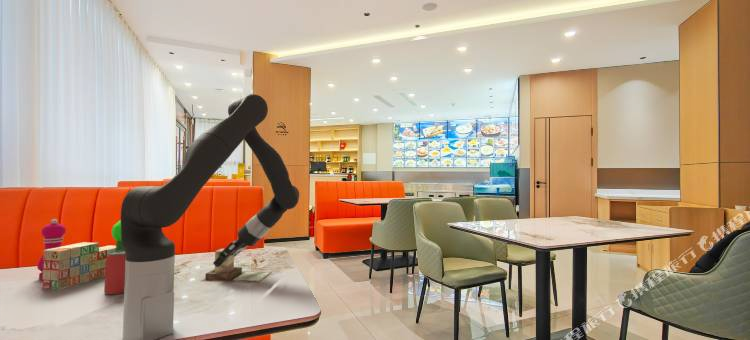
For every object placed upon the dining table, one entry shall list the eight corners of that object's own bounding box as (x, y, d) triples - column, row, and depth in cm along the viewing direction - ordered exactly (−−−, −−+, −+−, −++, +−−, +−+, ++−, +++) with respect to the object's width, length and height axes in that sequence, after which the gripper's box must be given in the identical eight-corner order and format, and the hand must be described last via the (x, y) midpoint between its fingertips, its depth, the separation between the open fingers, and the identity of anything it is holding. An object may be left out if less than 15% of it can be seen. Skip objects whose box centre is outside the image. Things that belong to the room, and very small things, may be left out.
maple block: (233, 274, 114) (234, 248, 114) (227, 278, 110) (228, 251, 110) (221, 273, 114) (221, 248, 115) (214, 277, 110) (215, 251, 110)
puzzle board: (272, 274, 117) (272, 266, 117) (259, 285, 105) (259, 276, 105) (219, 273, 118) (219, 265, 118) (200, 284, 106) (200, 274, 106)
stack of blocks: (108, 269, 121) (109, 237, 121) (122, 270, 120) (123, 237, 120) (41, 289, 100) (42, 249, 100) (58, 290, 99) (59, 250, 99)
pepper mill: (43, 275, 113) (45, 218, 114) (70, 272, 116) (72, 217, 117) (32, 281, 107) (34, 220, 107) (60, 278, 110) (63, 219, 110)
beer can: (99, 292, 97) (101, 253, 97) (125, 286, 103) (126, 248, 103) (110, 297, 94) (112, 255, 94) (136, 290, 100) (137, 251, 100)
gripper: (256, 219, 119) (225, 249, 120) (238, 224, 105) (203, 259, 105) (269, 233, 119) (238, 264, 119) (253, 241, 105) (218, 275, 105)
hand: (222, 261), depth 112 cm, fingers open, 8 cm apart
